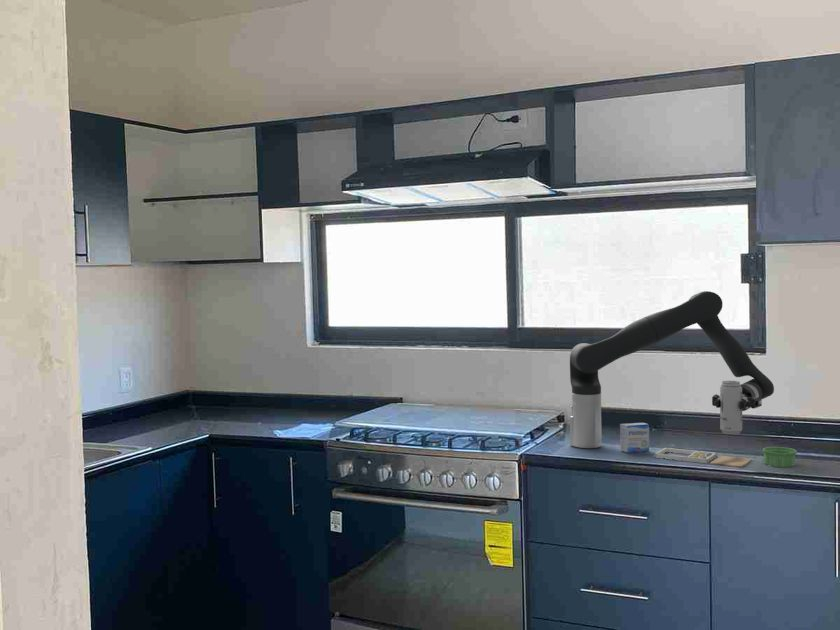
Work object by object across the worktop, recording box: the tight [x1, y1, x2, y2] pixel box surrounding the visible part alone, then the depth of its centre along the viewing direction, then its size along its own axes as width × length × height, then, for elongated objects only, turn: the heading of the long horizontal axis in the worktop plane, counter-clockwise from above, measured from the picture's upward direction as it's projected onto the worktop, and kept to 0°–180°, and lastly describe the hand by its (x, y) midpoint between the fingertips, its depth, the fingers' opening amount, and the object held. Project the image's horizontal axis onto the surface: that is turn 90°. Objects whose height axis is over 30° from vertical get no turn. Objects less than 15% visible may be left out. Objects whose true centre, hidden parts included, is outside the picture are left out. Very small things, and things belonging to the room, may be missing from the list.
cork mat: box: [709, 455, 753, 469], centre depth 244 cm, size 9×11×1 cm
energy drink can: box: [719, 380, 743, 435], centre depth 243 cm, size 6×6×15 cm
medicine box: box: [619, 422, 650, 454], centre depth 261 cm, size 8×4×9 cm, turn 105°
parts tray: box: [653, 447, 718, 464], centre depth 251 cm, size 16×10×1 cm, turn 55°
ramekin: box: [762, 446, 798, 468], centre depth 240 cm, size 9×9×4 cm
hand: (729, 405), depth 241 cm, fingers closed on energy drink can, 6 cm apart
